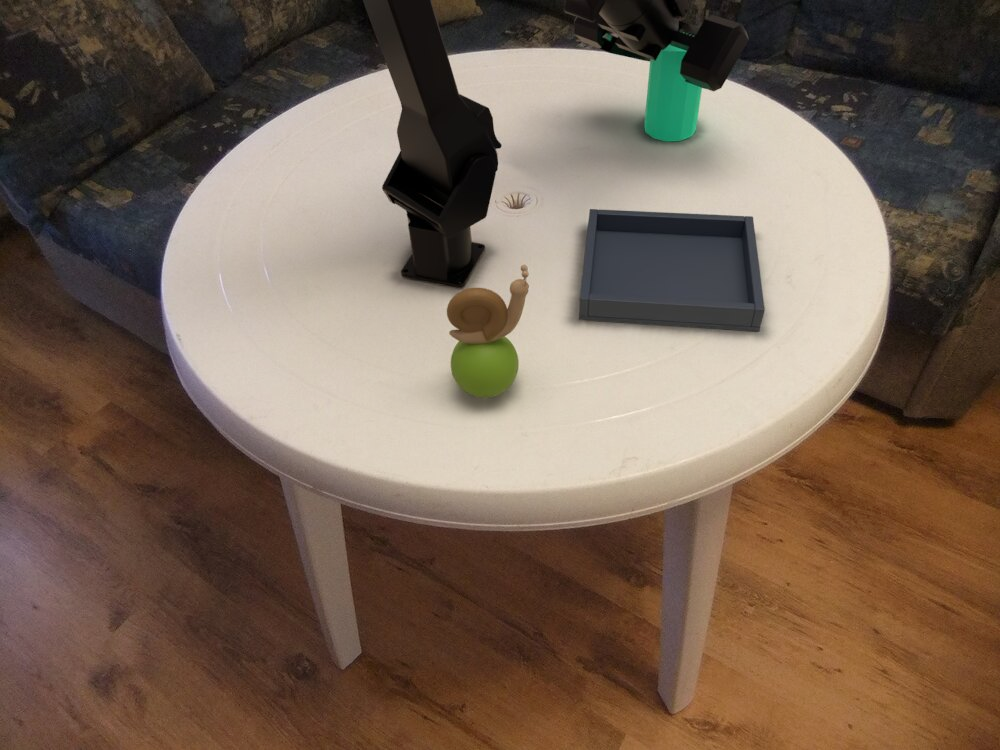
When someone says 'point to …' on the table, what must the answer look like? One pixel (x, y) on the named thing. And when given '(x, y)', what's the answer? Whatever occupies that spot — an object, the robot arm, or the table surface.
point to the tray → (671, 270)
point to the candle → (670, 98)
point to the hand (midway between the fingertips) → (684, 68)
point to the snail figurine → (485, 338)
